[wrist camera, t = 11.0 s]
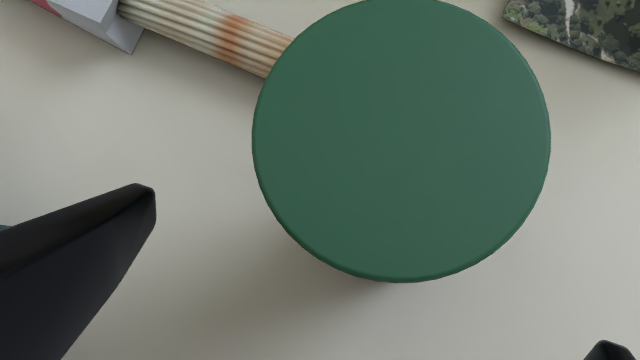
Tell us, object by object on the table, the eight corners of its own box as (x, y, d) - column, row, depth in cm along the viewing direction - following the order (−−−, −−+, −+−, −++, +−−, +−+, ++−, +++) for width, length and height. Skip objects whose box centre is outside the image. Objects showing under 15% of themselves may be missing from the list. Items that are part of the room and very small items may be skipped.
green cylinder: (440, 274, 19) (591, 274, 6) (331, 284, 19) (253, 306, 6) (425, 167, 19) (529, -34, 7) (321, 179, 20) (233, 8, 7)
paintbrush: (-58, -145, 21) (389, 38, 18) (-11, -97, 23) (383, 68, 21) (-108, -68, 20) (344, 132, 18) (-55, -28, 23) (345, 150, 20)
